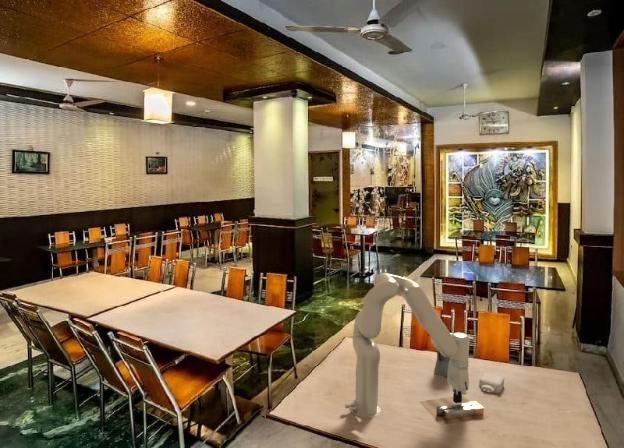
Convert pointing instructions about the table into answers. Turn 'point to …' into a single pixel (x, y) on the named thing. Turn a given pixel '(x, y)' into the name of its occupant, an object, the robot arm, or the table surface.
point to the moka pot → (441, 365)
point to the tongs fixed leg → (464, 412)
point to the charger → (491, 383)
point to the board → (433, 404)
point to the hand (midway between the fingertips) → (457, 401)
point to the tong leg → (453, 407)
